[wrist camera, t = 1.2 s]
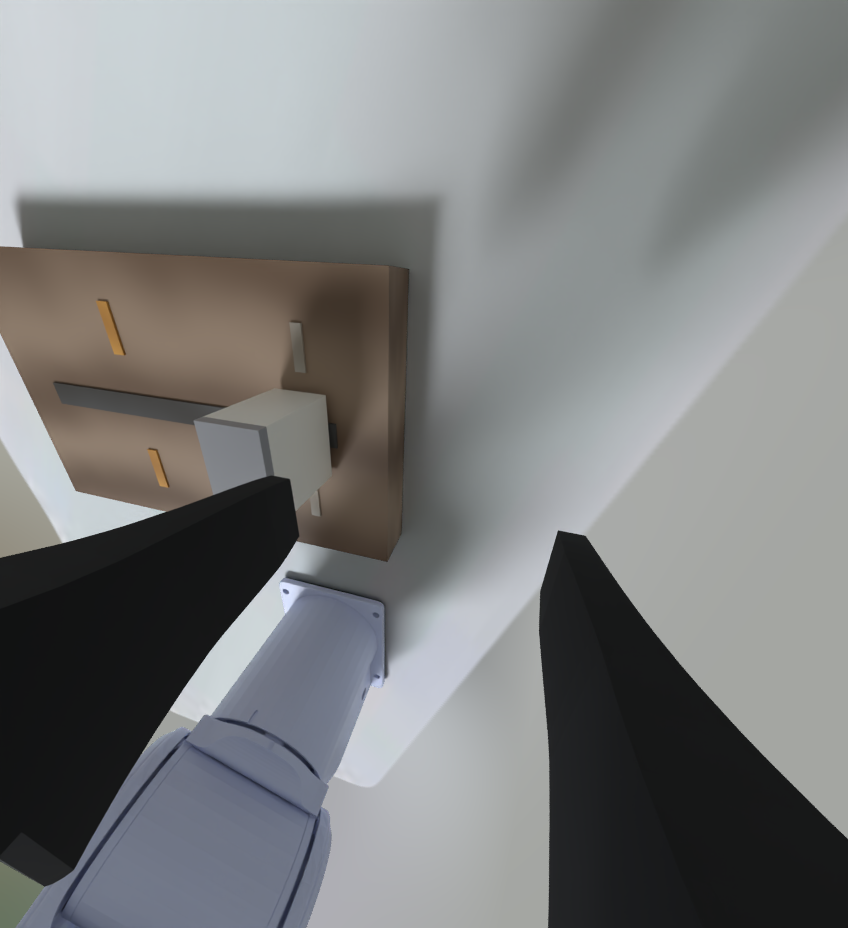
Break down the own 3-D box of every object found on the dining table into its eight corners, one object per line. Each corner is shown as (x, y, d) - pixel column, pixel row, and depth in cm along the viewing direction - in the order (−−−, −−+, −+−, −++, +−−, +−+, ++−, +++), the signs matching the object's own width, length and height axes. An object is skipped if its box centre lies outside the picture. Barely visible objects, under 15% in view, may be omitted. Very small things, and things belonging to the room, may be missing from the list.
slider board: (401, 533, 21) (386, 562, 19) (114, 473, 25) (74, 491, 23) (408, 269, 15) (387, 265, 12) (22, 249, 19) (-46, 244, 17)
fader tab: (332, 475, 17) (275, 530, 13) (286, 467, 17) (219, 517, 14) (325, 395, 15) (258, 430, 11) (274, 388, 15) (193, 420, 12)
